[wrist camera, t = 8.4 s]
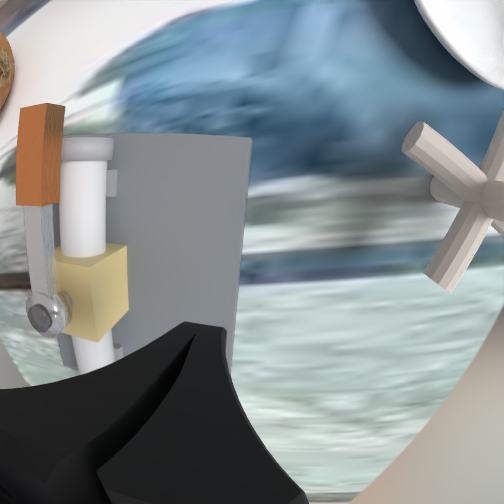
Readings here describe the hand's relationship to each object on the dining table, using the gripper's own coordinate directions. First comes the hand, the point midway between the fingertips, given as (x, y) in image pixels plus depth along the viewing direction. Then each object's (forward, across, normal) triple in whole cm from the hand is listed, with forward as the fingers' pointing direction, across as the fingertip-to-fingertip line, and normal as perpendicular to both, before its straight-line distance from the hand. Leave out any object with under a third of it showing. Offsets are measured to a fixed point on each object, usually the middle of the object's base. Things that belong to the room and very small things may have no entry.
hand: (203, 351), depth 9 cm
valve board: (+10, +7, +2) cm, 13 cm away
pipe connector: (+11, -12, -6) cm, 17 cm away
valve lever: (+4, +9, -2) cm, 10 cm away
